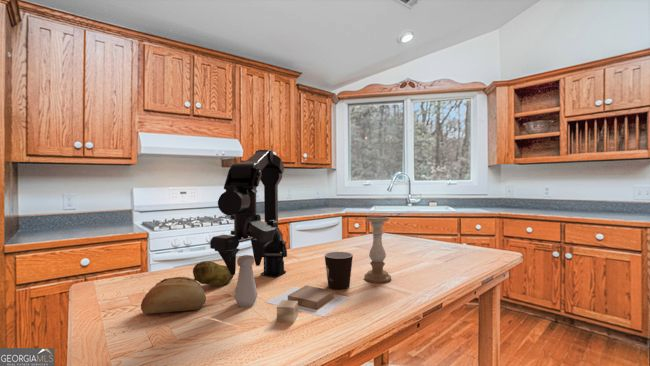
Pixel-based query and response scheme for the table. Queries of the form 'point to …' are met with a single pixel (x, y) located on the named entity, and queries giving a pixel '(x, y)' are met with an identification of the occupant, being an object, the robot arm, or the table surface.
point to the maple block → (287, 311)
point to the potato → (211, 273)
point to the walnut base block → (311, 297)
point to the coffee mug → (338, 269)
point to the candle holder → (377, 252)
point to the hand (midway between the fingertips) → (245, 270)
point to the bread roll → (174, 296)
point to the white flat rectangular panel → (321, 311)
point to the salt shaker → (245, 282)
